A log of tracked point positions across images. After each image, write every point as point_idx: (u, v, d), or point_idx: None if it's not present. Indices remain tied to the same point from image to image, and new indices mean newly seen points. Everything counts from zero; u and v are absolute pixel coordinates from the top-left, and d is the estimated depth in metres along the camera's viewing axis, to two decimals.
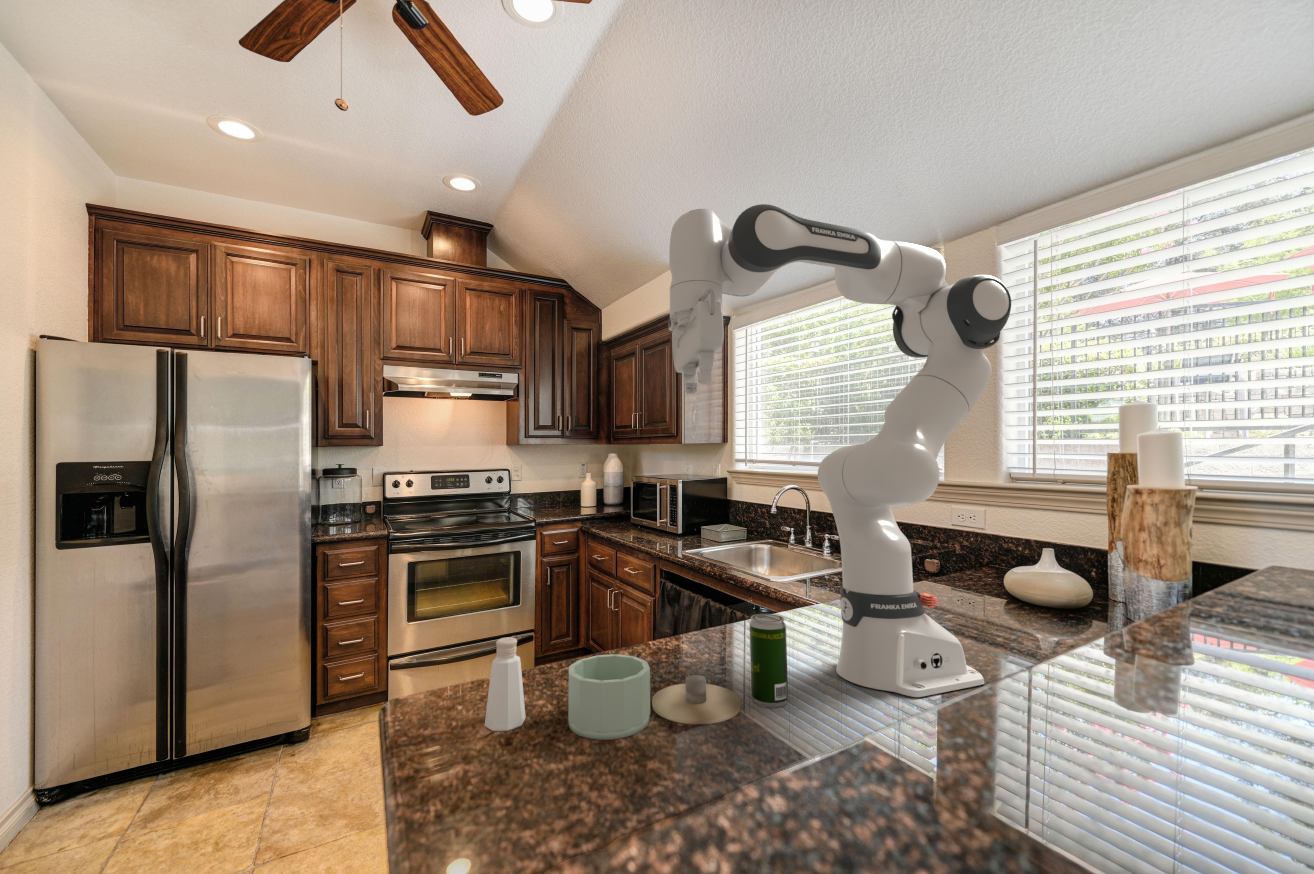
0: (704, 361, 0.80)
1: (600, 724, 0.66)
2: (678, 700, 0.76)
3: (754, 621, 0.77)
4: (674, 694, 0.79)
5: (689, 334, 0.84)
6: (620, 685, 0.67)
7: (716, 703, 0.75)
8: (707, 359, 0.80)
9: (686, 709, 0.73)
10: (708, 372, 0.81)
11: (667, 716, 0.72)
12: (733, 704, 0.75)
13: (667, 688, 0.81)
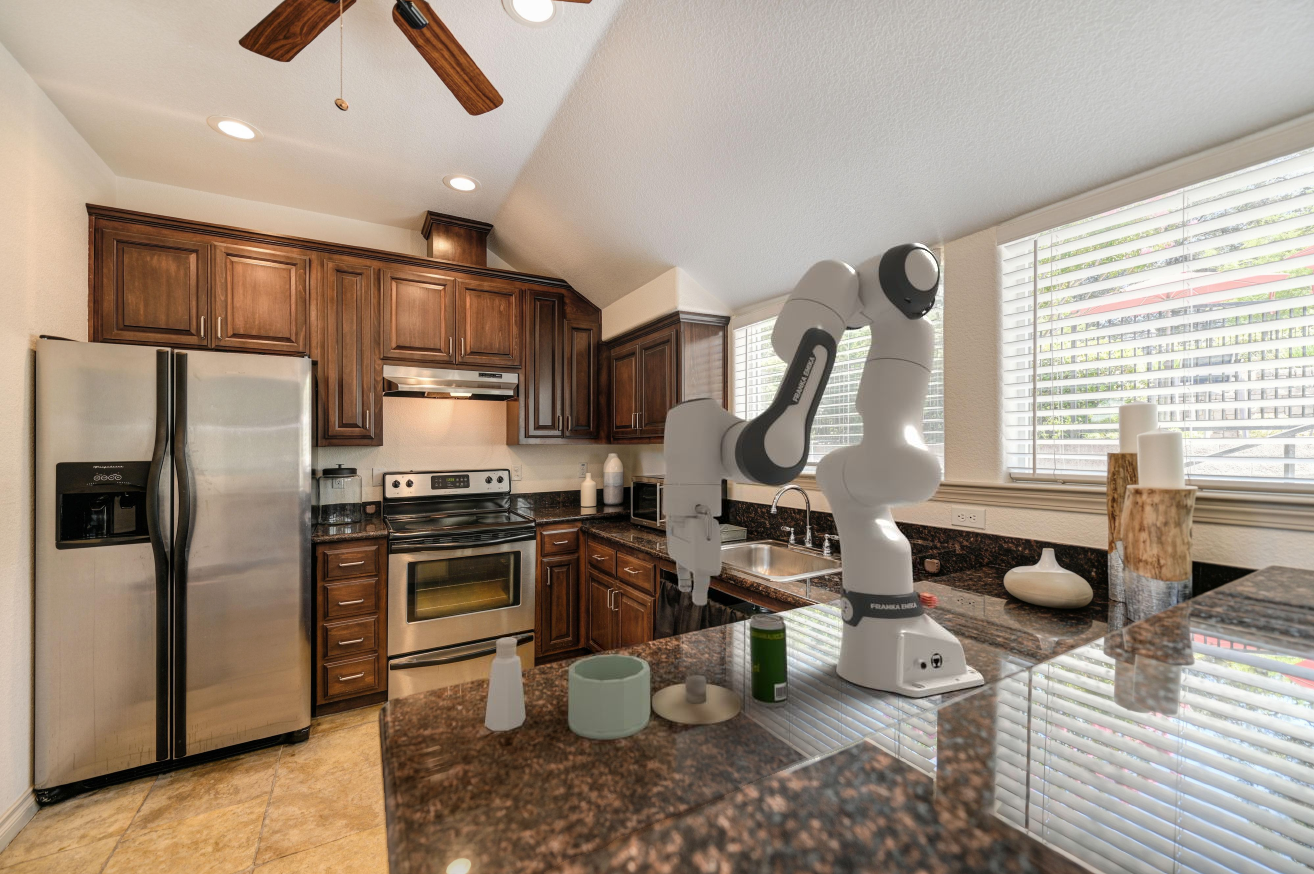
0: (699, 584, 0.72)
1: (600, 724, 0.66)
2: (678, 700, 0.76)
3: (754, 621, 0.77)
4: (674, 693, 0.79)
5: (683, 541, 0.76)
6: (620, 685, 0.67)
7: (716, 703, 0.75)
8: (703, 582, 0.72)
9: (686, 709, 0.73)
10: (703, 594, 0.73)
11: (667, 716, 0.72)
12: (733, 704, 0.75)
13: (667, 688, 0.81)
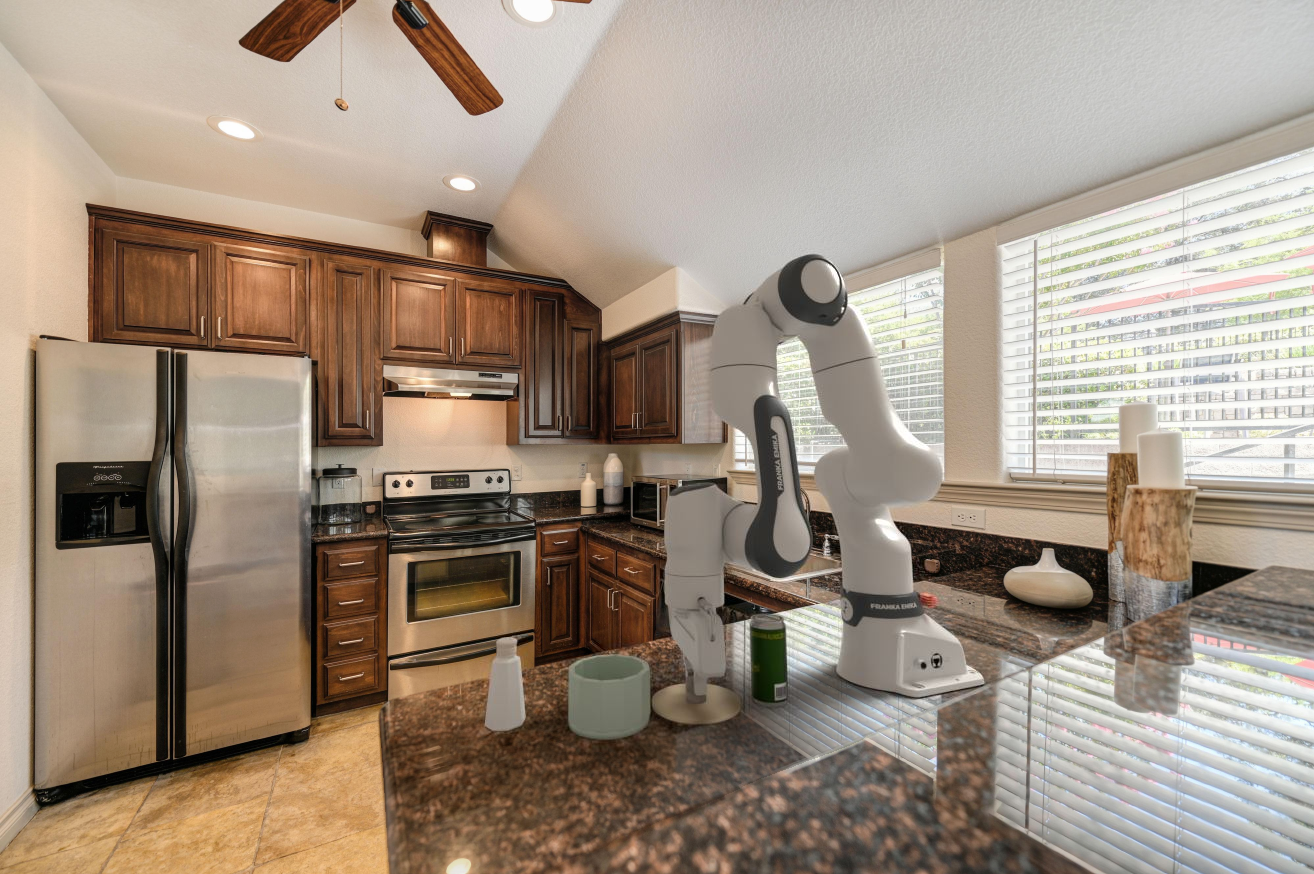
0: (699, 675, 0.73)
1: (600, 724, 0.66)
2: (678, 700, 0.76)
3: (754, 621, 0.77)
4: (674, 693, 0.79)
5: (686, 634, 0.75)
6: (620, 685, 0.67)
7: (716, 703, 0.75)
8: None
9: (686, 709, 0.73)
10: (703, 684, 0.74)
11: (667, 716, 0.72)
12: (733, 703, 0.75)
13: (667, 688, 0.81)
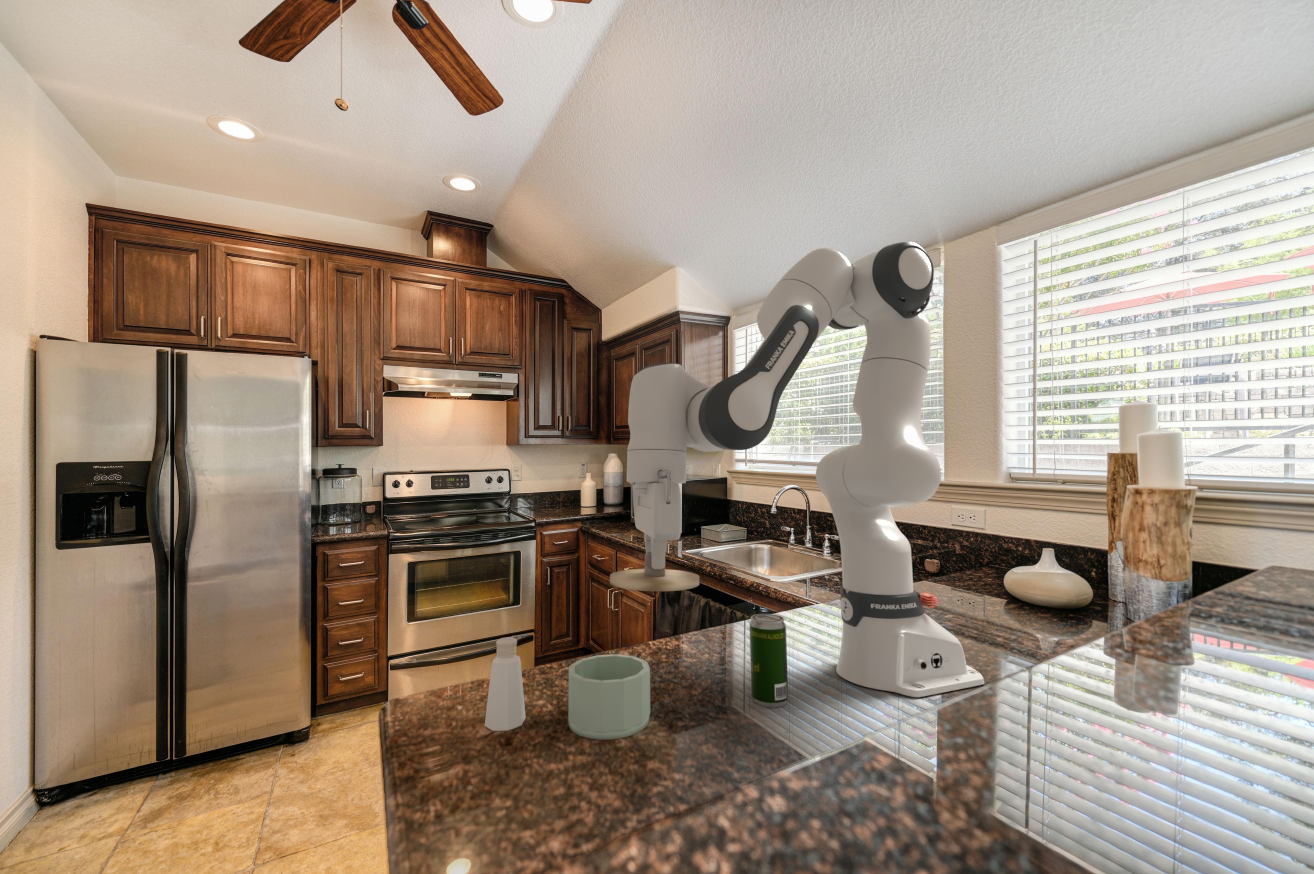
0: (656, 547, 0.73)
1: (600, 724, 0.66)
2: (636, 575, 0.76)
3: (754, 621, 0.77)
4: (633, 572, 0.78)
5: (646, 508, 0.74)
6: (620, 685, 0.67)
7: (674, 577, 0.75)
8: (660, 545, 0.73)
9: (643, 579, 0.73)
10: (661, 558, 0.73)
11: (622, 582, 0.71)
12: (691, 578, 0.74)
13: (628, 570, 0.80)
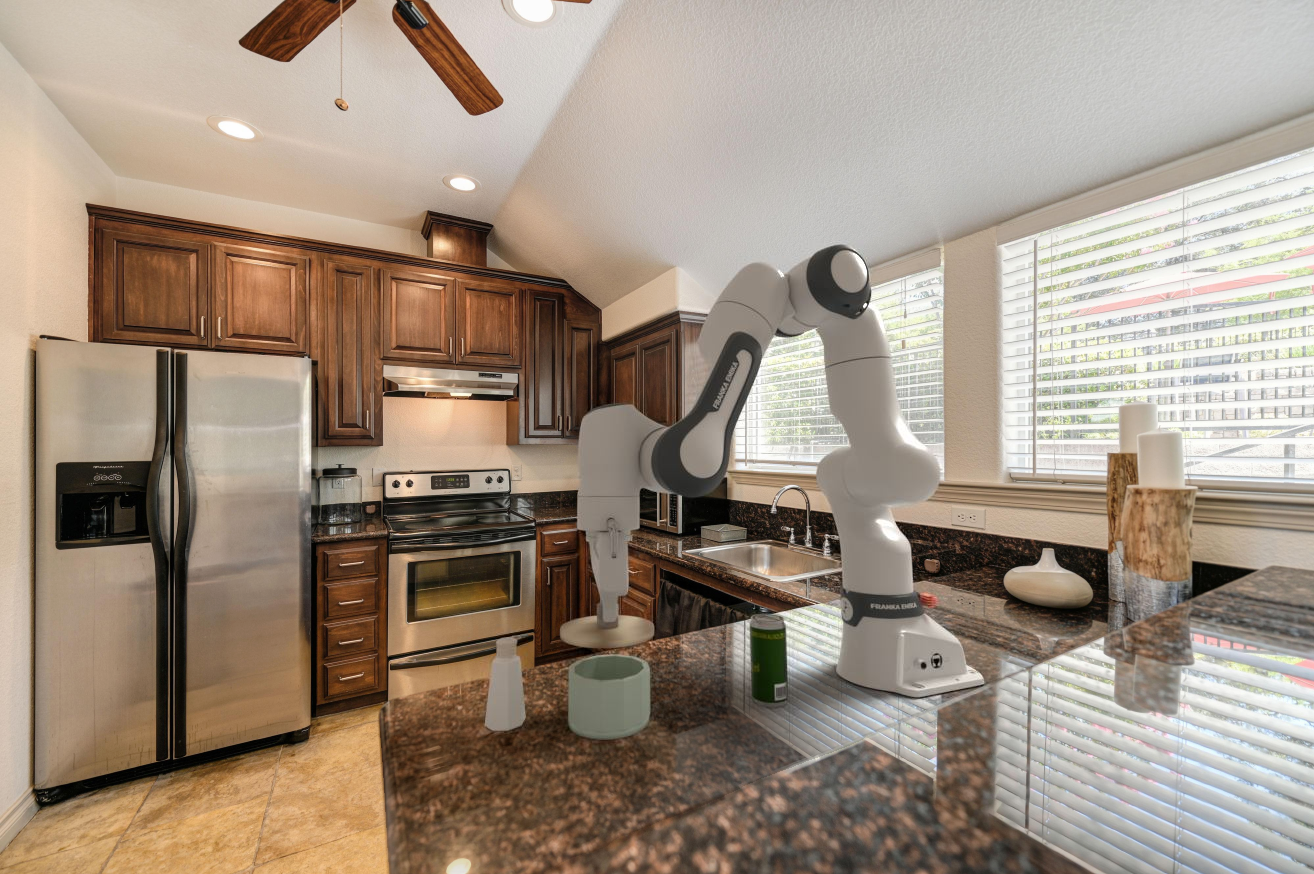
0: (607, 600, 0.69)
1: (600, 724, 0.66)
2: (588, 626, 0.72)
3: (754, 621, 0.77)
4: (587, 622, 0.75)
5: (596, 558, 0.71)
6: (620, 685, 0.67)
7: (627, 629, 0.71)
8: (610, 598, 0.69)
9: (593, 633, 0.69)
10: (612, 610, 0.70)
11: (571, 638, 0.68)
12: (644, 629, 0.71)
13: (582, 618, 0.77)
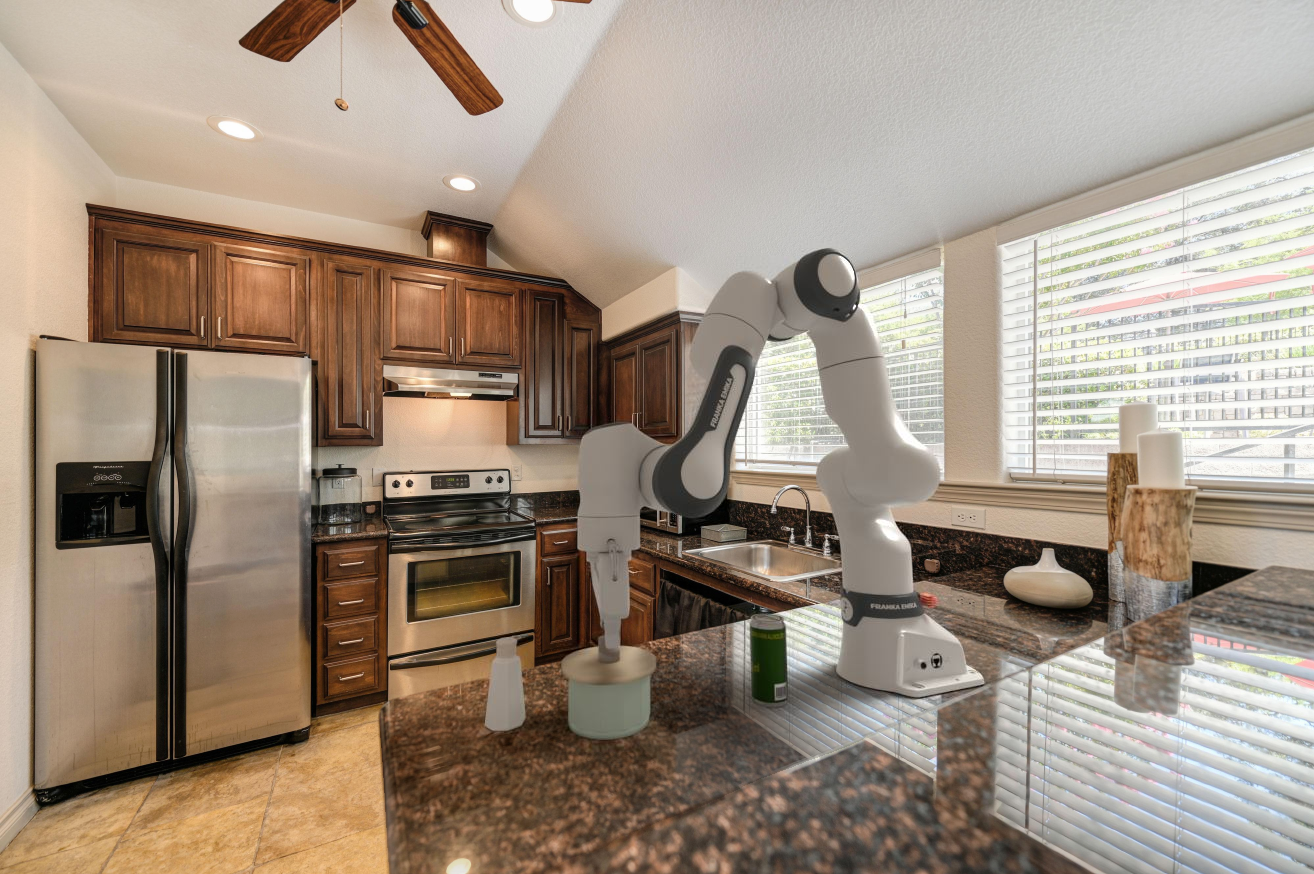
0: (609, 626, 0.67)
1: (600, 724, 0.66)
2: (590, 660, 0.72)
3: (754, 621, 0.77)
4: (588, 654, 0.74)
5: (597, 578, 0.71)
6: (620, 685, 0.67)
7: (629, 662, 0.71)
8: (613, 623, 0.67)
9: (594, 668, 0.69)
10: (615, 636, 0.68)
11: (572, 674, 0.67)
12: (646, 663, 0.71)
13: (583, 650, 0.77)
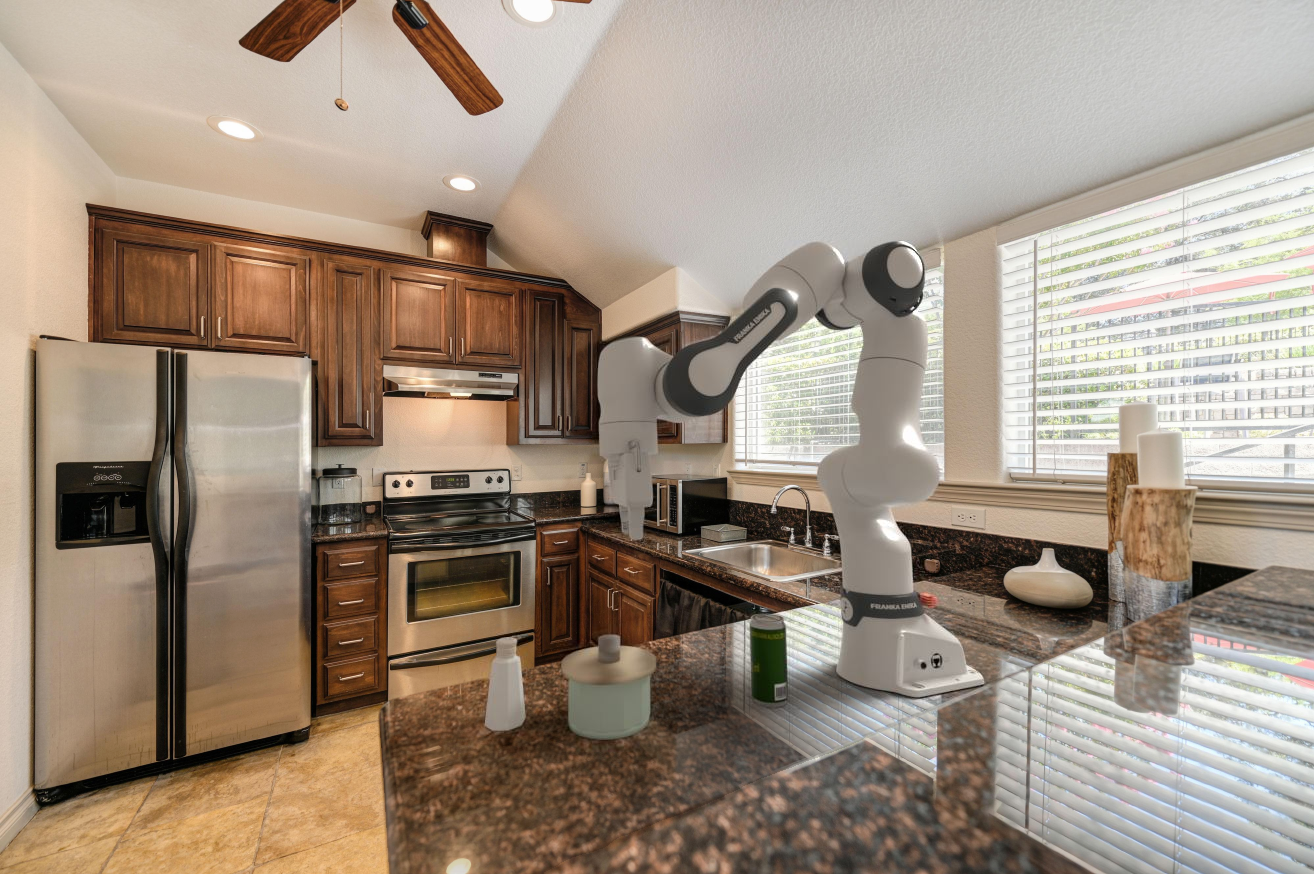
0: (634, 518, 0.72)
1: (600, 724, 0.66)
2: (590, 660, 0.72)
3: (754, 621, 0.77)
4: (588, 654, 0.74)
5: (619, 480, 0.76)
6: (620, 685, 0.67)
7: (629, 662, 0.71)
8: (637, 516, 0.72)
9: (594, 668, 0.69)
10: (639, 528, 0.73)
11: (572, 674, 0.67)
12: (646, 663, 0.71)
13: (583, 650, 0.77)
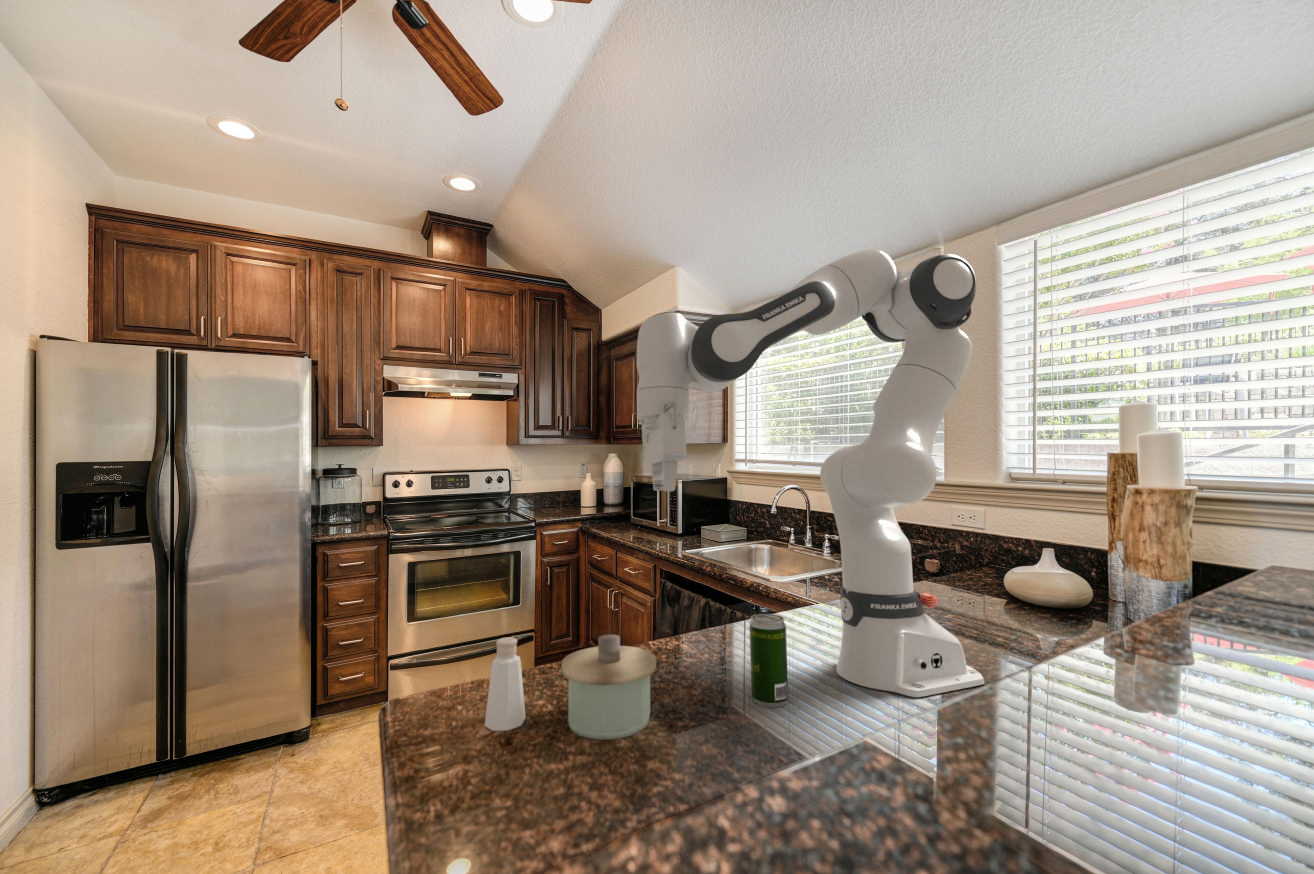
0: (668, 471, 0.81)
1: (600, 724, 0.66)
2: (590, 660, 0.72)
3: (754, 621, 0.77)
4: (588, 654, 0.74)
5: (655, 439, 0.85)
6: (620, 685, 0.67)
7: (629, 662, 0.71)
8: (671, 469, 0.81)
9: (594, 668, 0.69)
10: (672, 481, 0.82)
11: (572, 674, 0.67)
12: (646, 663, 0.71)
13: (583, 650, 0.77)
